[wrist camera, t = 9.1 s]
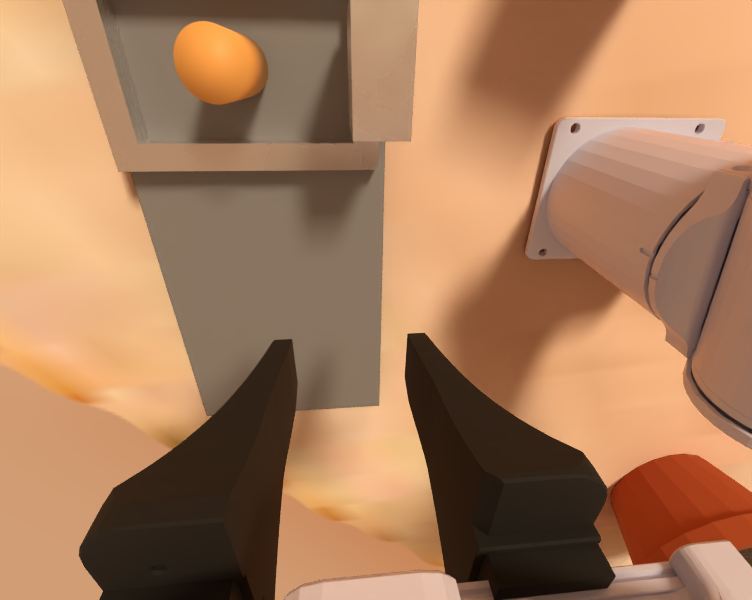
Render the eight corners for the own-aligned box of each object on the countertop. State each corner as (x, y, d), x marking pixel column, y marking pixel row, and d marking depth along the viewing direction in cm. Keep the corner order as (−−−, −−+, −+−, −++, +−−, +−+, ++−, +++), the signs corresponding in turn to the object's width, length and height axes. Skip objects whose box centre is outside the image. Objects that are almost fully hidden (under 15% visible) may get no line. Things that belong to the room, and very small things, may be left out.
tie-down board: (387, -91, 15) (390, -101, 14) (377, 395, 29) (379, 405, 28) (56, -108, 14) (39, -120, 13) (210, 405, 28) (206, 415, 27)
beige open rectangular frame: (394, -42, 15) (424, -104, 10) (388, 164, 19) (407, 199, 14) (62, -55, 14) (-103, -133, 9) (130, 166, 18) (46, 204, 13)
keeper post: (264, 34, 16) (241, 21, 12) (271, 98, 17) (253, 104, 13) (206, 32, 16) (165, 20, 12) (217, 97, 17) (183, 104, 13)
